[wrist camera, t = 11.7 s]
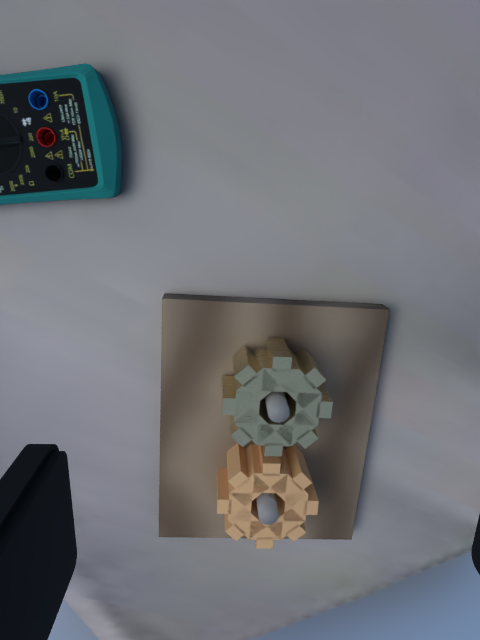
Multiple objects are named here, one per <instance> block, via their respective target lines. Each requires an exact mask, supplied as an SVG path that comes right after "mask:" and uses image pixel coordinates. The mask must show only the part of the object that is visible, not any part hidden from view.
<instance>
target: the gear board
mask: <svg viewBox="0 0 480 640" xmlns="http://www.w3.org/2000/svg"><path fill="white" fill-rule="evenodd" d="M388 316H389V309H388V308H386V307H385V306H384V305H382V304H366V303H346V302H325V301H305V300H285V299H265V298H245V297H225V296H205V295H185V294H164V296H163V298H162V352H161V419H160V487H159V537H198V538H232V537H231V536H229V535H228V534H227V533H226V532H225V519H224V514H217V469H227V451H228V450H229V449H230V448H232V447H233V446H234V445H235V444H237V442H236V441H235V440H234V439H233V438H232V437H231V436H230V419H229V415H222V392H221V390H222V375H227V376H233V374H234V368H233V358H232V356H233V355H234V354H235V353H236V352H238V351H239V350H240V349H241V348H242V347H244V346H246V347H247V348H248V349H249V350H250V351H251V352H252V353H253V352H254V351H255V350H257V349H258V348H266V344H267V338H283V339H284V340H285V342H286V345H287V347H288V349H291V350H292V352H293V353H294V354H295V355H296V354H297V353H298V352H300V351H301V350H302V349H303V348H305V349H306V350H307V352H308V353H309V354H310V355H311V356H312V357H313V358H314V359H315V361H316V363H317V365H318V366H319V368H320V370H321V372H322V373H323V375H324V377H325V379H326V381H325V382H323V384H324V386H325V388H326V390H327V392H328V394H329V395H330V397H331V399H332V401H333V406H332V413H331V418H319V421H318V426H317V427H315V430H316V433H317V435H318V439H317V440H316V441H315V442H313V443H312V444H311V445H309V446H308V447H307V448H306V449H305V448H304V447H303V446H302V445H301V444H300V443H299V442H298V441H297V442H296V443H295V444H294V445H295V446H296V447H297V448H298V449H299V450H300V451H301V452H302V453H303V455H304V458H305V461H306V465H307V468H308V470H309V472H310V475H311V478H312V481H313V485H314V488H315V491H316V494H317V497H318V500H319V504H318V512H317V515H306V520H305V522H304V525H305V529H306V533H305V534H303V535H302V536H301V537H299V538H298V539H352V533H353V527H354V521H355V515H356V509H357V503H358V497H359V491H360V485H361V479H362V473H363V467H364V461H365V455H366V449H367V443H368V437H369V431H370V425H371V419H372V413H373V407H374V401H375V395H376V389H377V383H378V377H379V370H380V364H381V358H382V352H383V346H384V340H385V334H386V328H387V322H388ZM284 393H286V392H275V391H272V392H270V393H269V394H268V395H267V396H265V397H264V398H263V399H265V403H266V407H267V412H268V416H269V418H270V419H271V420H272V421H274V422H277V423H280V422H283V421H285V420H286V419H287V418H288V417H289V415H290V410H289V407H288V404H287V401H286V398H285V395H284ZM251 444H254V445H256V444H255V443H254V442H253V441H252V440H251V441H250V442H248V443H247V444H246V445H245V446H243V447H244V448H245V449H246V448H247V447H248V446H249V445H251ZM288 447H289V446H283V448H284V449H287V448H288ZM256 501H257V509H258V517H259V520H260V522H261V523H263V524H265V525H271V524H274V523H275V522H276V521H277V520H278V518H279V514H278V509H277V503H276V498H275V493H262V494H260V495H259V496H258V497H257V498H256ZM241 538H247V537H246V536H245V535H243V536H242V537H241ZM282 539H290V538H289V537H288V536H287V535H286V536H285V537H284V538H282Z"/></svg>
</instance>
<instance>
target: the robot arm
mask: <svg viewBox="0 0 480 640" xmlns="http://www.w3.org/2000/svg"><path fill="white" fill-rule="evenodd" d="M76 559H77V547H76V538H75V528H74V518H73V509H72V499H71V489H70V480H69V470H68V461H67V454H66V452H65V451H59V449H58V447H57V445H55V444H28V445H26V446H25V447H24V449H23V450H22V451H21V453H20V454H19V455H18V457H17V458H16V459H15V461H14V462H13V463H12V465H11V466H10V467H9V469H8V470H7V471H6V473H5V474H4V475H3V477H2V478H1V479H0V640H47V639H48V637H49V634H50V632H51V629H52V626H53V624H54V621H55V619H56V616H57V613H58V611H59V608H60V605H61V603H62V601H63V598H64V595H65V593H66V590H67V588H68V585H69V582H70V580H71V577H72V575H73V572H74V569H75V565H76ZM472 560H473V563H474V566H475V568H476V569H477V571H478V573H479V574H480V515H479V519H478V524H477V528H476V532H475V537H474V541H473V546H472Z"/></svg>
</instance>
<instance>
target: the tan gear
mask: <svg viewBox="0 0 480 640" xmlns="http://www.w3.org/2000/svg"><path fill="white" fill-rule="evenodd" d="M262 493H275V498H276V503H277V509H278V514H279V518H278V520H277V521H276V522H275V523H274V524H271V525H265V524H263V523H261V522H260V520H259V517H258V509H257V501H256V498H257V497H258V496H259V495H260V494H262ZM318 504H319V500H318V497H317V494H316V491H315V488H314V485H313V481H312V478H311V475H310V472H309V470H308V468H307V465H306V461H305V458H304V455H303V453H302V452H301V451H300V450H299V449H298V448H297V447H296V446H295V445H294V444H293V445H292V446H289V447H288V448H287V449H284V448H283V450H282V456H264V452H263V446H260V445H254V444H251V445H249V446H248V447H247V448H246V449H245V448H244V447H242V446H241V445H240V444H239V443H237V444H235V445H234V446H233V447H232V448H230V449H229V450H228V451H227V469H217V514H224V519H225V532H226V533H227V534H228V535H229V536H231V537H232V538H233V539H234V540H235V541H237V540H238V539H240V538H241V537H242V536H243V535H245V536H246V537H247V538H248V539H255V542H256V548H271V549H272V548H273V540H281V539H282V538H284V537H285V536H286V535H287V536H288V537H289V538H290V539H291V540H292V541H293V542H294V541H295V540H297V539H298V538H299V537H301V536H302V535H303V534H305V533H306V529H305V525H304V522H305V520H306V515H317V512H318Z"/></svg>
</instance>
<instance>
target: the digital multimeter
mask: <svg viewBox="0 0 480 640" xmlns="http://www.w3.org/2000/svg"><path fill="white" fill-rule="evenodd" d="M62 78H63V79H62ZM18 164H19V165H18ZM14 169H15V170H14ZM13 170H14V171H13ZM9 173H10V174H9ZM121 175H122V143H121V137H120V131H119V124H118V121H117V118H116V114H115V111H114V108H113V105H112V101H111V99H110V96H109V94H108V91H107V89H106V86H105V84H104V81H103V79H102V76H101V74H99V73H98V72H97V71H96V70H95V69H94V68H93V67H92V66H91V65H89V64H79V65H72V66H66V67H59V68H52V69H45V70H38V71H30V72H22V73H13V74H5V75H0V205H2V204H11V203H26V202H41V201H55V200H72V199H94V198H110V197H115V196H118V194H119V193H120V188H121ZM3 176H4V177H3ZM87 187H89V188H87ZM76 188H78V189H76ZM66 189H68V190H66ZM55 190H57V191H55ZM45 191H46V192H45ZM34 192H35V193H34Z"/></svg>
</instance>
